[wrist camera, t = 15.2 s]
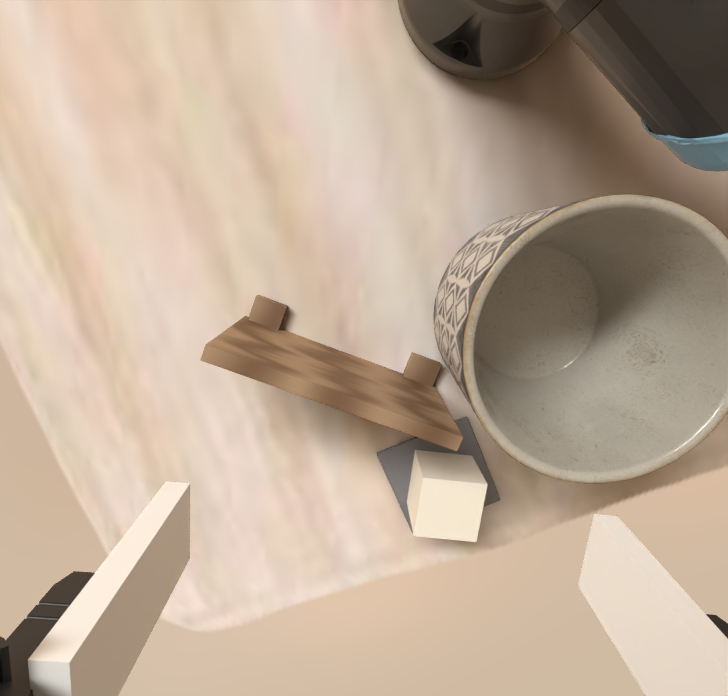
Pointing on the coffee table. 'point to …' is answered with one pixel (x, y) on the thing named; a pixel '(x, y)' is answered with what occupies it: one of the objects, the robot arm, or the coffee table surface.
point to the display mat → (401, 456)
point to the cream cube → (445, 496)
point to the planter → (591, 334)
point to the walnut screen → (335, 375)
